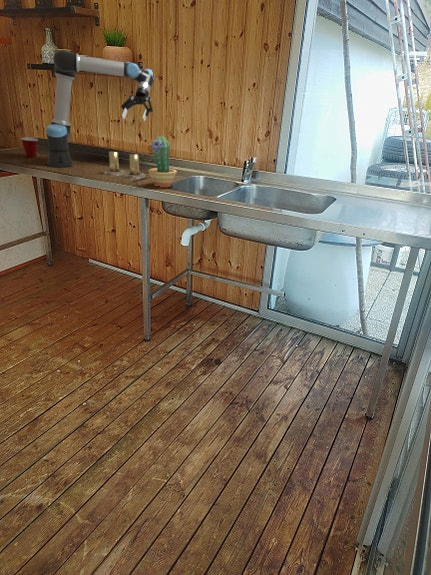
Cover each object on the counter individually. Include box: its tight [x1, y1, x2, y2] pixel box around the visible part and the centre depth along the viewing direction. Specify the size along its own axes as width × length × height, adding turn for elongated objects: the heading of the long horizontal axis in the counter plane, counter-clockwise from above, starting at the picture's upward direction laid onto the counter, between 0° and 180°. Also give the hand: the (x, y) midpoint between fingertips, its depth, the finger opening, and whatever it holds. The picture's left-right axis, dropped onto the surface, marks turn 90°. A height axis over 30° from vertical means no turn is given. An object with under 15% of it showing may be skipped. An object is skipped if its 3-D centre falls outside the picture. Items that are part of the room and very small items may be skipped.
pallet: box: [100, 169, 149, 183], centre depth 229 cm, size 23×14×3 cm, turn 65°
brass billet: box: [129, 153, 140, 176], centre depth 224 cm, size 5×5×12 cm
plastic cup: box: [20, 137, 39, 158], centre depth 271 cm, size 11×11×12 cm
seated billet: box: [108, 151, 120, 173], centre depth 229 cm, size 5×5×12 cm
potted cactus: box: [147, 136, 178, 188], centre depth 211 cm, size 15×15×25 cm
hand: (133, 118), depth 243 cm, fingers open, 13 cm apart
